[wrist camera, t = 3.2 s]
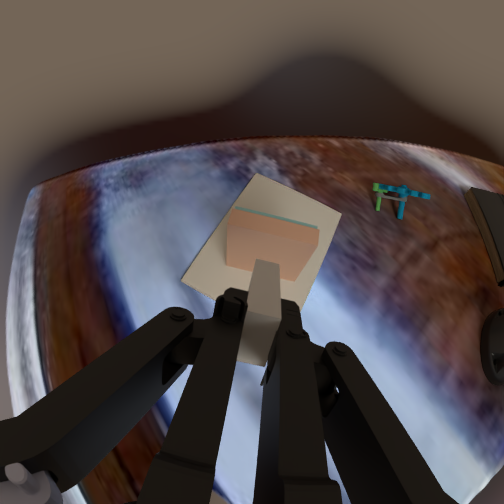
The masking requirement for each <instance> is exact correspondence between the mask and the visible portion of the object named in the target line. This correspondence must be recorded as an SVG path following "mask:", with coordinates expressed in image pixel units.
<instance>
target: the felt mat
mask: <svg viewBox="0 0 504 504" xmlns="http://www.w3.org/2000/svg"><path fill="white" fill-rule="evenodd" d="M235 206H237V207H242V208H246V209H250V210H255V211H259V212H263V213H267V214H271V215H276V216H280V217H284V218H288V219H292V220H296V221H300V222H303V223H307V224H311V225H315V226H318V228H317V229H319V230H320V231H319V241H318V247H317V248H316V250H315V251H314V253H313V254H312V256H311V257H310V259H309V260H308V262H307V264H306V265H305V267H304V268H303V270H302V271H301V273H300V274H299V276H298V277H297V279H296V280H295V282H293V281H288V280H284V279H280V291H281V298H282V299H286V300H291V301H295V302H296V303H297V305H298V306H299V308H300V311H301V309H302V307H303V305H304V303H305V301H306V298H307V296H308V294H309V292H310V290H311V287H312V285H313V283H314V280H315V278H316V276H317V274H318V271H319V269H320V267H321V264H322V262H323V259H324V257H325V255H326V252H327V250H328V247H329V245H330V242H331V240H332V237H333V235H334V232H335V230H336V227H337V225H338V222H339V220H340V217H341V213H339V212H337V211H335V210H333V209H331V208H329V207H328V206H326V205H324V204H322V203H320V202H318V201H316V200H314V199H312V198H309V197H307V196H305V195H303V194H301V193H299V192H297V191H295V190H293V189H291V188H289V187H286V186H284V185H282V184H280V183H278V182H276V181H273V180H271V179H269V178H267V177H265V176H262V175H260V174H258V173H256V174H255V175H254V177H253V178H252V179H251V181H250V182H249V184H248V185H247V186H246V188H245V189H244V190H243V192H242V193H241V195H240V196H239V197H238V199H237V200H236V201H235V203H234V204H233V206H232V207H231V208H230V210H229V211H228V213H227V214H226V215H225V217H224V218H223V220H222V221H221V222H220V224H219V225H218V227H217V228H216V230H215V231H214V232H213V234H212V235H211V237H210V238H209V240H208V241H207V243H206V244H205V245H204V247H203V248H202V250H201V251H200V253H199V254H198V256H197V257H196V259H195V260H194V262H193V263H192V265H191V266H190V268H189V269H188V271H187V272H186V274H185V275H184V277H183V278H182V280H181V282H183V283H185V284H186V285H188V286H190V287H192V288H193V289H195V290H197V291H199V292H200V293H202V294H204V295H206V296H207V297H209V298H211V299H213V300H215V301H216V298H217V297H218V296H220V295H223V294H224V292H225V290H226V289H228V288H230V287H232V288H236V289H240V290H245V291H248V289H249V285H250V281H251V277H252V273H253V272H250V271H246V270H242V269H238V268H234V267H230V266H226V256H227V223H228V220H229V217H230V214H231V211H232V208H233V209H235Z"/></svg>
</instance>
